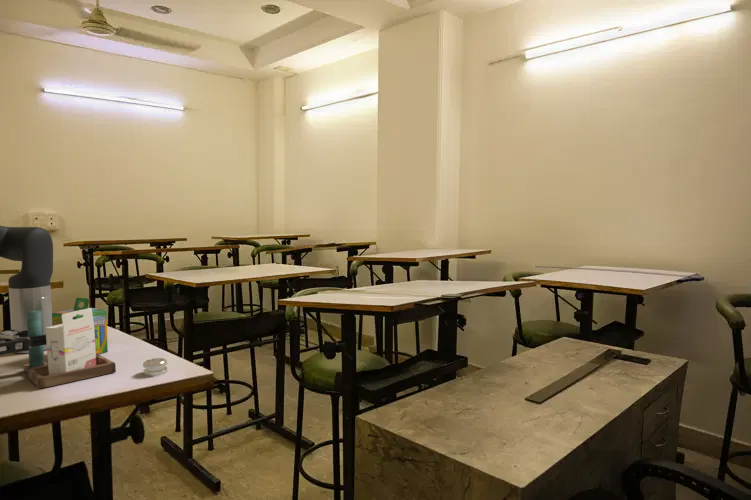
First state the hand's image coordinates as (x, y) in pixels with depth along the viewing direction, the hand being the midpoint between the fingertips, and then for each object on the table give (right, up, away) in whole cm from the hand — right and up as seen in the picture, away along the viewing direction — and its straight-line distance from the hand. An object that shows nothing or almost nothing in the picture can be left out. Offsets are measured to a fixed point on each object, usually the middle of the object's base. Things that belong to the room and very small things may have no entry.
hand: (44, 335), depth 114 cm
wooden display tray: (+6, -8, -2) cm, 10 cm away
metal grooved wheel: (+27, -8, -3) cm, 29 cm away
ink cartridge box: (+9, -8, -4) cm, 13 cm away
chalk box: (+1, -7, +13) cm, 15 cm away
